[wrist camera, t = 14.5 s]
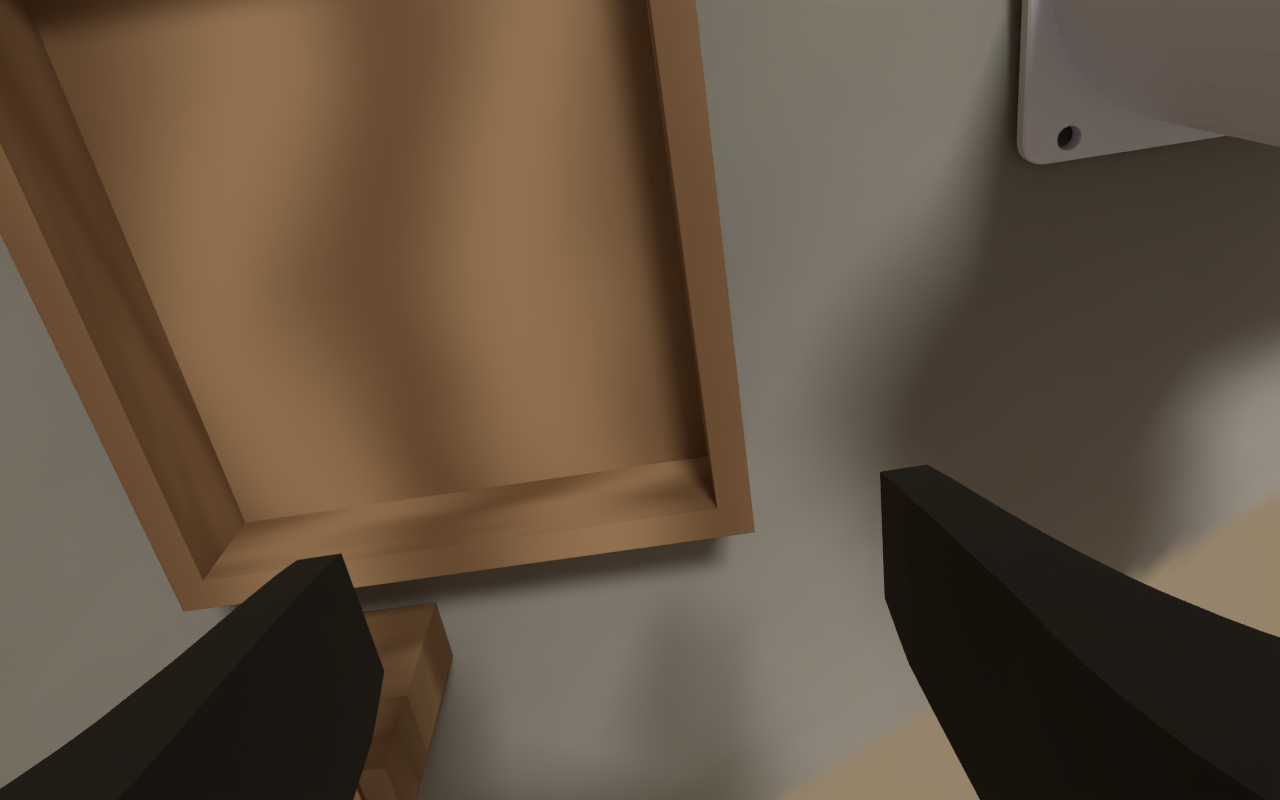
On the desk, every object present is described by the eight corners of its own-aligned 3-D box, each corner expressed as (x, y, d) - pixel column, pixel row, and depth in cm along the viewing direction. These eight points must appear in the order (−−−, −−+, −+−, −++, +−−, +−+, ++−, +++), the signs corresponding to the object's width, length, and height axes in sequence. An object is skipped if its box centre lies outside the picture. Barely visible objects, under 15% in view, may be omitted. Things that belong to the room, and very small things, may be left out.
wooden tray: (652, -263, 16) (668, -398, 11) (755, 614, 25) (792, 779, 19) (-57, -133, 16) (-376, -198, 11) (293, 676, 25) (208, 852, 20)
